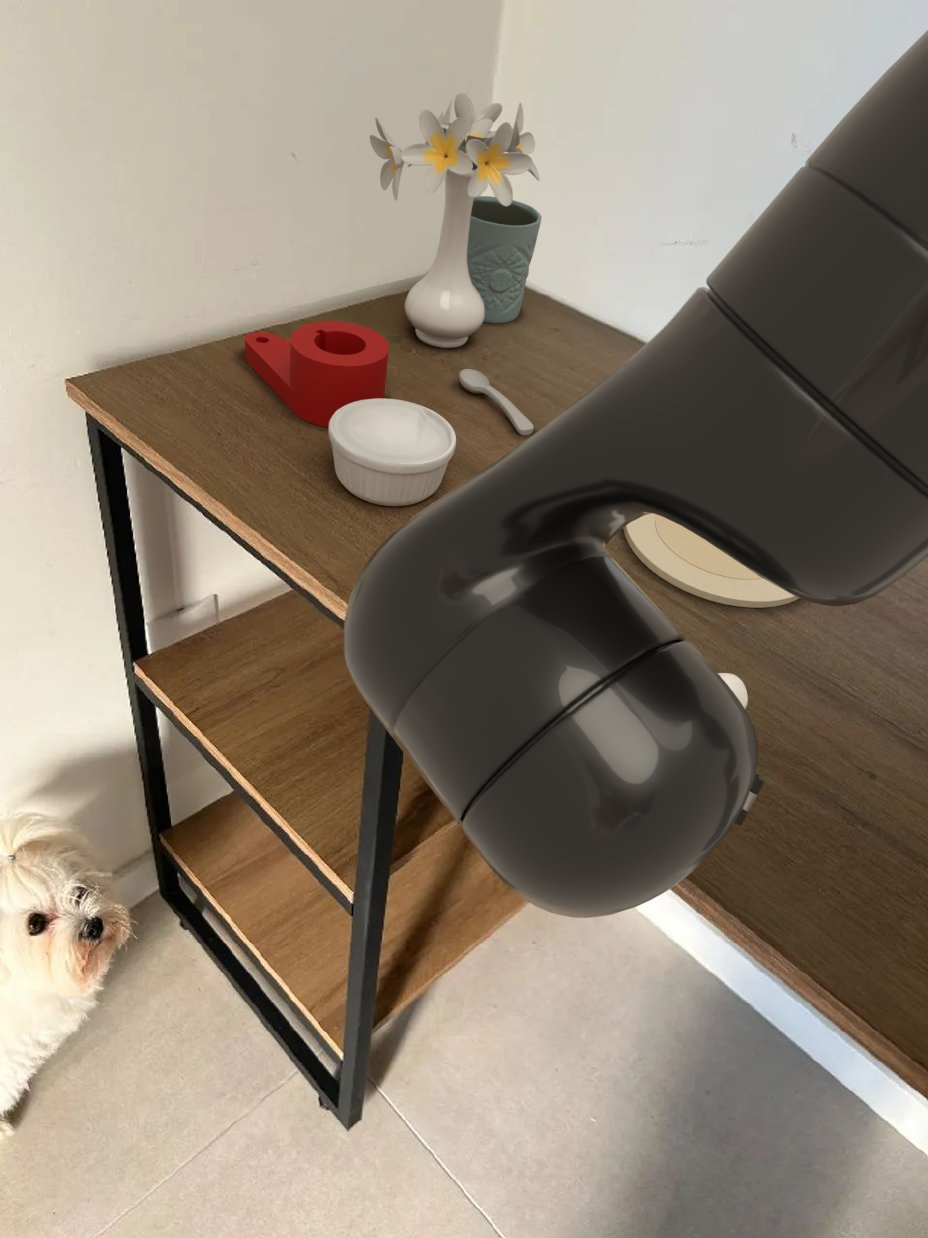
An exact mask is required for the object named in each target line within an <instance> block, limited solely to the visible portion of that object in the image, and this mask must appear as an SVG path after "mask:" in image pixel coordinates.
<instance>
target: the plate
mask: <svg viewBox="0 0 928 1238" xmlns="http://www.w3.org/2000/svg"><path fill="white" fill-rule="evenodd" d="M622 530H623V534H624V537H625V539H626V542H627V544H628V546H629V547H630V549H631V551H632V552H633V553H634V555H635V556H636V558H637V559H639V560H640V562H641V563H643V565H645V566H646V567H647V568H648V570H650V571H652V572H653V573H654V574H655V575H656V576H658V577H659V578H661V579H662V580H664V581H665V582H667V583H669V584H670V585H672V586H674V587H676V588H678V589H680V590H682V591H683V592H686V593H688V594H691V595H693V596H696V597H698V598H701V599H704V600H707V601H711V602H713V603H719V604H722V605H726V606H732V607H737V608H738V607H739V608H749V609H754V608H755V609H763V608H775V607H779V606H784V605H787V604H790V603H794V602H796V601H797V600H799V599H800V598H799V597H797V596H794V595H792V594H790V593H788V592H787V591H785V590H783V589H781V588H779V587H778V586H776V585H774V584H772V583H770V582H769V581H767V580H765V579H763V578H762V577H760V576H758V575H757V574H755V573H754V572H752V571H751V570H749V569H748V568H746V567H745V566H743V565H742V564H740V563H739V562H737V561H736V560H734V559H733V558H731V557H730V556H728V555H727V554H725V553H724V552H722V551H721V550H719V549H718V548H716V547H715V546H713V545H712V544H710V543H709V542H707V541H706V540H704V539H703V538H701V537H699V536H698V535H696V534H694V533H693V532H691V531H689V530H688V529H686V528H684V527H683V526H681V525H679V524H677V523H675V522H673V521H670V520H668V519H666V518H664V517H662V516H659V515H656V514H653V513H652V514H648V515H645V516H642V517H640V518H638V519H636V520H634V521H632V522H630V523H629V524H628V525H626V526H625V527H624V528H622Z"/></svg>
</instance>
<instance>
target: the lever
mask: <svg viewBox="0 0 928 1238" xmlns="http://www.w3.org/2000/svg"><path fill="white" fill-rule="evenodd" d="M389 347H390V345H389V343H388V341H387V340H386V338H385V337H384V336H383V335H382V334H380V333H379V332H377V331H376V330H374V329H371V328H369V327H367V326H364V325H360V324H358V323H353V322H347V321H341V320H340V321H338V320H323V321H313V322H310V323H306V324H303V325H302V326H299V327H298V328H296V329H295V330H293V332H292V333H291V335H290V339H287V338H285V337H282V336H279V335H277V334H275V333H271V332H268V331H267V332H266V331H253V332H249V333H248V334H246V335H245V337H244V359H245V362H246V363H247V364H248V365H249V366H250V367H251V368H252V370H254V371H255V372H256V373H257V374H258V375H259V377H260V378H261V379H262V380H263V381H264V382H265V383H266V384H267V385H268V386H269V387H270V388H271V390H272V391H274V392H275V394H277V396H278V397H279V398H280V399H281V400H282V401H283V402H284V403H285V405H287V406H288V408H289V409H290V410H291V411H292V412H293V413H294V414H295V415H296V416H297V417H299V418H300V419H302V420H304V421H306V422H308V423H310V424H313V425H316V426H319V427H324V428H328V429H329V422H330V419H331V417H332V415H333V414H334V413H335V412H336V411H337V410H338V409H340V408H341V407H343V406H345V405H347V404H350V403H353V402H356V401H360V400H366V399H378V398H381V399H385V394H386V382H387V375H388V363H389V352H390V348H389Z"/></svg>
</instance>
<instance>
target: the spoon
mask: <svg viewBox="0 0 928 1238" xmlns="http://www.w3.org/2000/svg"><path fill="white" fill-rule="evenodd" d="M458 381H459V383H460V385H461V386H462V388H464V389H465V390H466V391H467V392H468V393H472V394H477V395H480V394H485V395H487V396H488V397H489V398H490V399H492V400H493V401H494V402H495V403H496V404H497V405H498V407H500V409H501V410H502V411H503V412H504V414H505V415H506V417H507V418H508V419H509V422H510V423H511V425H512V426H513V427H514V429H515V431H516V432H517V433H518V434H519V435H520V436H528V435H531V434H532V433H533V432H534V429H535V426H534V424H533V422H531V421H530V420H529V418H527V417H526V416H525V415H524V414H523V413H522V412H521V411H520V410H519V409H518V408H517V407H516V406H515V405H514V404H513V402H511V401H510V400H509V399H508V397H506V396H505V395H503V394H502V393H501V392H500V391H498V390H497V389H495V388H494V387H493V386H492V385H490V380H489V379H488V377H486V376H485V374H483V373H482V372H480V371H478V370H475V369H472V368H465V369H462V370H460V371H459V374H458Z"/></svg>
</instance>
